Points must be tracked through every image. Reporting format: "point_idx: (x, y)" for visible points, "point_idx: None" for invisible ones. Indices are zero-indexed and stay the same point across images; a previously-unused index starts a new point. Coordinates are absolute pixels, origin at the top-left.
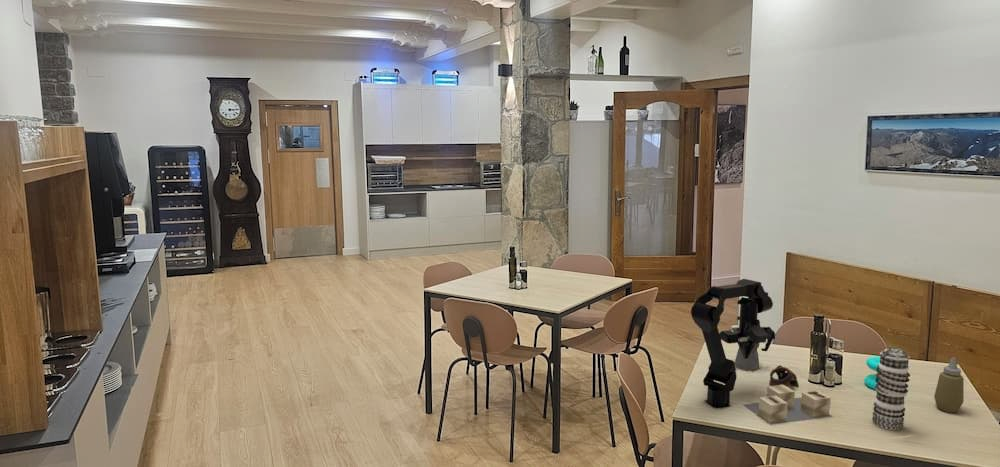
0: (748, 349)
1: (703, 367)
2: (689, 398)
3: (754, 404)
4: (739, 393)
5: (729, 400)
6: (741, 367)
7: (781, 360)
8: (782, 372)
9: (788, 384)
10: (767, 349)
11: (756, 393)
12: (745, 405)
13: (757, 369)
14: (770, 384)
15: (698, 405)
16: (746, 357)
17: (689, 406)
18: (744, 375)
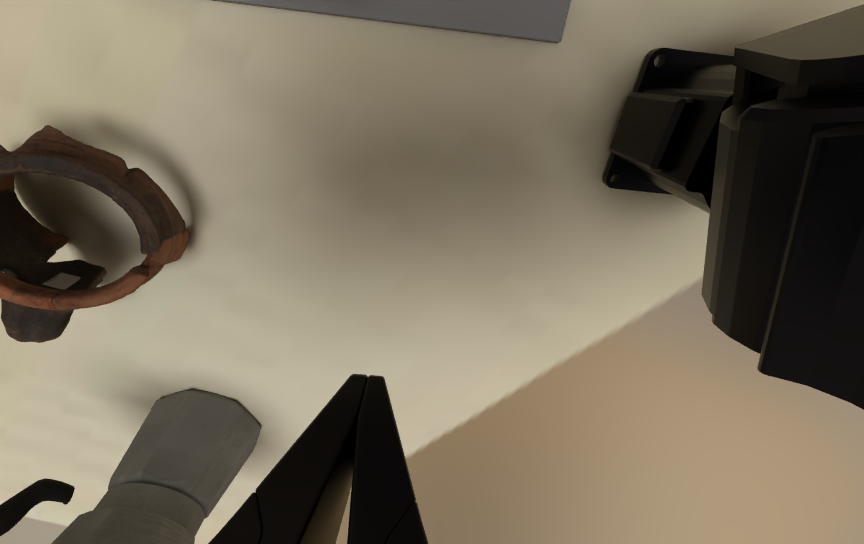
0: (313, 525)
1: None
2: None
3: (475, 6)
4: (426, 219)
5: (639, 96)
6: (244, 420)
7: (20, 426)
8: (39, 284)
9: (56, 134)
10: (28, 489)
11: (328, 185)
12: (553, 16)
13: (173, 394)
14: (185, 238)
15: None
16: (371, 388)
17: None
18: (267, 369)
